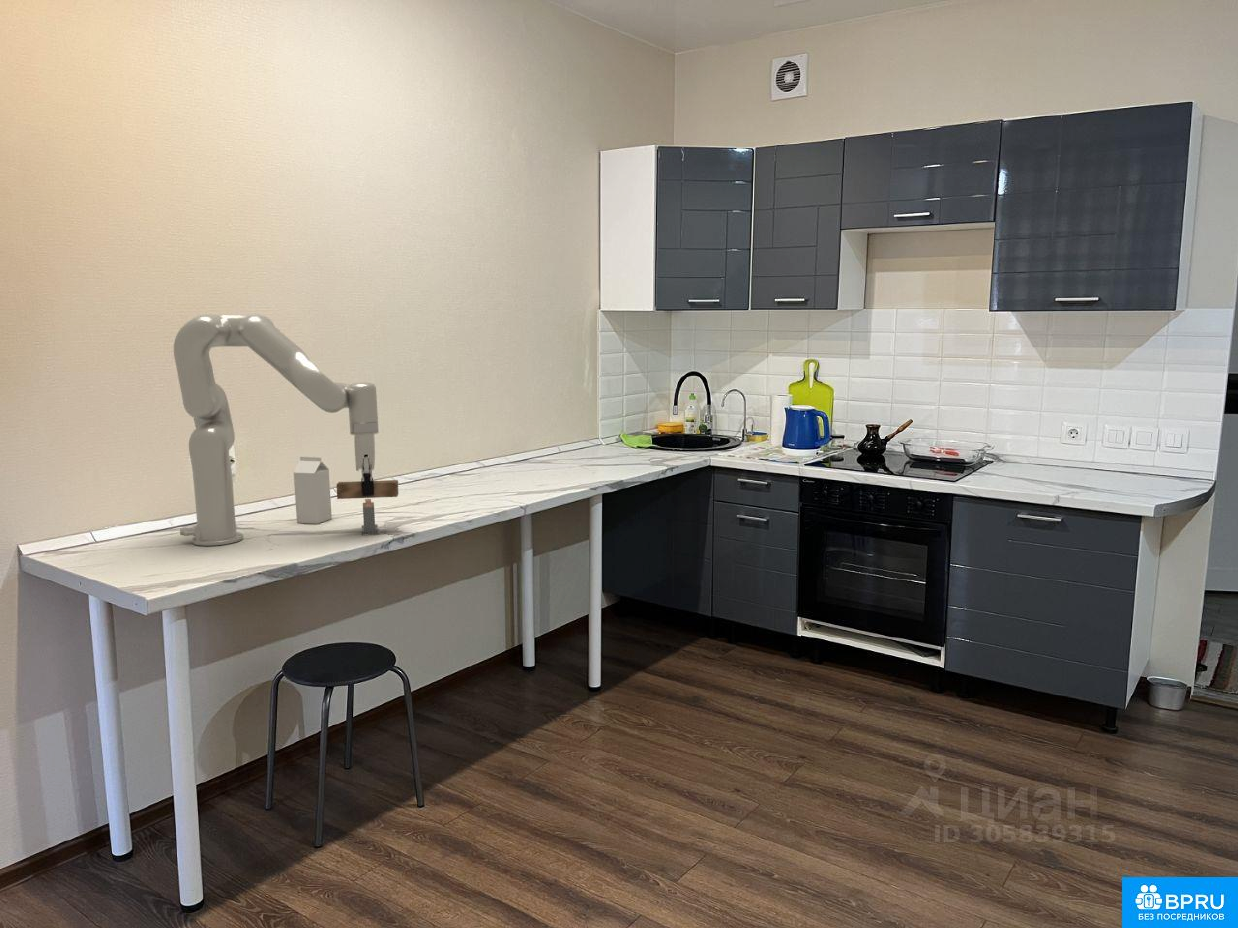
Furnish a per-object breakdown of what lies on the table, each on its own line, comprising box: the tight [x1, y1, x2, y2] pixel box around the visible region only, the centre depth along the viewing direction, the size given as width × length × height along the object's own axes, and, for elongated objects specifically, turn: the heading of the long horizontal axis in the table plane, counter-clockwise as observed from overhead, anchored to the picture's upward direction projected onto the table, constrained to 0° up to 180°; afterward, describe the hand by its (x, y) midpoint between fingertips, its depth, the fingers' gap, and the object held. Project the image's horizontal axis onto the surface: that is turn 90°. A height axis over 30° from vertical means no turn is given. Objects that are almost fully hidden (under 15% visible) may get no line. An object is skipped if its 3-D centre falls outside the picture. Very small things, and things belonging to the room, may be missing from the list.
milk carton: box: [293, 456, 333, 525], centre depth 276 cm, size 7×7×19 cm
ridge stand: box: [361, 498, 379, 536], centre depth 262 cm, size 4×7×9 cm, turn 15°
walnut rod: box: [335, 479, 399, 500], centre depth 261 cm, size 16×4×4 cm, turn 97°
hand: (368, 493), depth 261 cm, fingers closed on walnut rod, 4 cm apart
